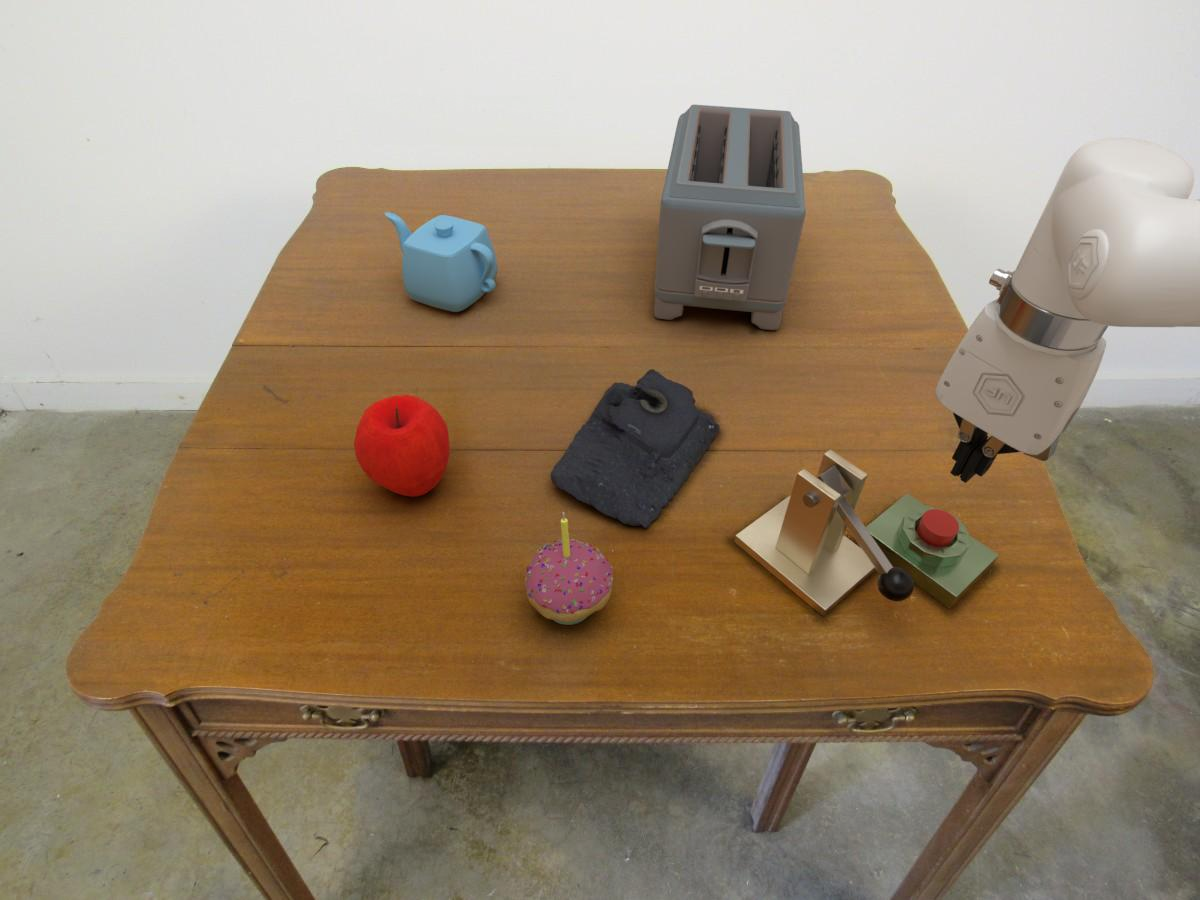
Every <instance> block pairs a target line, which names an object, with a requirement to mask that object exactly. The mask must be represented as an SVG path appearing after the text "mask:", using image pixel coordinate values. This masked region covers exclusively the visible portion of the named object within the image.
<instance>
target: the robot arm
mask: <svg viewBox="0 0 1200 900" xmlns="http://www.w3.org/2000/svg"><path fill="white" fill-rule="evenodd" d="M1194 173H1195V172H1194V170H1193V168H1192V166H1191V164H1190V163H1189V162H1188V161H1187V159H1185V158H1184V157H1183V156H1182V155H1180V154H1179V153H1178V152H1177V153H1176V152H1175V151H1173V150H1170V149H1169V148H1167V147H1165V146H1162V145H1160V144H1157V143H1153V142H1149V141H1146V140H1141V139H1135V138H1125V137H1106V138H1100V139H1095V140H1093V141H1090V142H1087V143H1085V144H1084V145H1082V146H1080V147H1079V148H1078V149H1077V150H1075V152H1073V154H1072V155H1071V156H1070V157H1069V158H1068V160H1067V161H1066V164H1065V165H1064V167H1063V169H1062V171H1061V173H1060V175H1059V177H1058V180H1057V181H1056V183H1055V185H1054V187H1053V190H1052V192H1051V194H1050V196H1049V198H1048V200H1047V202H1046V205H1045V207H1044V209H1043V211H1042V213H1041V215H1040V218H1039V219H1038V221H1037V223H1036V226H1035V228H1034V230H1033V232H1032V234H1031V236H1030V237H1029V238H1030V239H1029V240H1028V241H1027V245H1026V247H1025V249H1024V251H1023V253H1022V255H1021V257H1020V259H1019V261H1018V264H1017V266H1016V268H1015V269H1014V270H1013V271H1010V270H1008V271H1006V270H1004V269H1001V268H997V269H996V270H995V271H994V272H993V273H992V275H991V277H990V278H989V281H988V284H989V285H991V286H993V287H995V288H996V290H997V291H999V295H998V298H996V299H994V300H992V301H990V302H987V304H986V305H985V306H984V307H983V308H982V310H981V311H980V312H979V314H978V315H977V317H976V318H975V319H974V321H973V322H972V323H971V325H970V327H969V328H968V330H967V331H966V333H965V334H964V336H963V337H962V339H961V341H960V342H959V344H958V346H957V347H956V349H955V351H954V352H953V354H952V355H951V358H950V359H949V360H948V363H947V365H946V367H945V368H944V370H943V372H942V374H941V376H940V378H939V380H938V382H937V384H936V388H935V393H934V395H935V398H936V399H937V401H938V402H939V403H940V404H941V405H942V406H943V407H944V408H946V409H947V410H949V411H950V412H952V414H953V417H954V420H955V421H956V424H957V426H958V429H959V430H958V434H957V437H958V439H959V440H960V441H959V443H958V445H957V447H956V449H955V450H954V453H953V455H952V457H951V459H952V460H954V465H953V467H952V468H951V470H950V475H952V476H953V477H959V479H960V481H961V482H963V483H964V484H966V483H968V482H969V481H970V480H971V479H972V478H973V477H974V476H975V475H977V476H979V477H980V478H981V477H982V476H984V475H985V474H986V473H987V472H988V471H989V469H991V467H992V466H993V463H994V461H995V460H996V458H997V456H998V455H1005V454H1015V453H1019V452H1020V453H1023V455H1025V456H1028V457H1031V458H1033V459H1036V460H1038V461H1042V462H1046V461H1048V460H1049V459H1050V458H1051V457H1052V456H1053V455H1054V454H1055V453H1056V450H1057V447H1058V443H1059V438H1060V435H1062V434H1063V433H1064V432H1065V431H1066V430H1067V429H1068V428H1069V427H1070V425H1071V423H1072V422H1073V421H1074V419H1075V417H1076V415H1077V414H1078V412H1079V410H1080V408H1081V406H1082V405H1083V403H1084V401H1085V399H1086V397H1087V395H1088V393H1089V391H1090V389H1091V387H1092V385H1093V383H1094V380H1095V378H1096V376H1097V373H1098V372H1099V369H1100V366H1101V364H1102V361H1103V357H1104V354H1105V351H1106V348H1107V340H1106V339H1105V338H1104V336H1103V335H1104V334H1105V332H1106V331H1107V329H1108V328H1109V327H1120V328H1178V327H1181V328H1200V199H1189V198H1190V195H1191V193H1192V190H1193V188H1194V184H1195V174H1194ZM989 435H990V437H989Z"/></svg>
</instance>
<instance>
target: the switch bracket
mask: <svg viewBox="0 0 1200 900" xmlns="http://www.w3.org/2000/svg"><path fill="white" fill-rule="evenodd" d="M832 466H835V467H836V468H837V470H838V471H839V473H840V474H841V475H842V477H843V478H844V480H845V481H846V483H847V484H848V486H849V487H850V488H851V491H849V492H848V493H847V494H846V495H844V497H845V498H846V500H847V501H848V503H849V504H850V505H851V507H852V508H853V510H854V511H855V508H856V506H857V503H858V501H859V498H860V496H861V493H862V490H863V488H864V486H865V483H866V481H867V478H868V476H869V474H867V473H866V472H865V471H863V470H862V469H860V468H859V467H857V466H856V465H855V464H853V463H851V462H850V461H848V460H847V459H846V458H844V457H842V456H841V455H840V454H838V453H837V452H835V451H834V450H833V449H831V448H830V449H829V450H826V452H825V453H823V456H822V459H821V463H820V465H819V468H818V472H817V474H819V473H820V472H822V471H824V470H826V469H828V468H830V467H832ZM815 476H816V475H814V474H812V472H810V471H808V469H805V468H802V469H801V470H800V471H798V472H797V474H796V477H795V479H794V484H793V487H792V490H791V493H790V495H788V496H786V497H785V498H784V499H783V500H781V501H780V502H778V503H777V504H776V505H774V506H773V507H771V508H770V509H769V510H768V511H767V512H765V513H764V514H762V515H761V516H760V517H758V518H757V519H755V520H754V521H753V522H751V523H750V524H748V526H746V527H745V528H744V529H741V531H739V532H738V533H737V534H735V536H734V540H733V542H734V544H736V545H737V546H738V547H739V548H741V550H743V551H744V552H745V553H746V554H747V555H749V556H750V557H752V559H754V560H755V561H756V562H757V563H758V564H760V565H761V566H762V567H763V568H764V569H766V570H767V571H768V572H769V573H770V574H771V575H772V576H774V577H775V578H776V579H777V580H779V581H780V582H781V583H782V584H783V585H785V586H786V587H787V588H788V589H789V590H791V592H793V593H794V594H795V595H796V596H798V597H799V598H800V600H802V601H803V602H805V603H806V604H807V605H808V606H809V607H811V608H812V609H813V610H814V611H815V612H817V613H818V615H820V616H822V617H825V616H826V615H827V614H828V613H829V612H830V611H831V610H832V609H834V608H835V607H836V606H837V605H838V604H839V603H840V602H842V601H843V600H844V599H845V598H846V597H847V596H848V595H849V594H851V593H852V592H853V591H854V590H855V589H856V588H857V587H858V586H860V585H861V584H862V583H863V582H864V581H865V580H867V578H869V577H870V576H871V575H872V574H873V573H874V572H875V571H877V570H876V568H875V567H874V565H873V564H872V563H871V561H870V560H869V558H868V557H867V555H866V554H865V552H864V551H863V549H862V548H861V547H860V545H858V544H856V543H855V542H853V541H852V540H851V539H850V538H848V537H847V536H845V533H846V532H847V530H848V528H847V526H846V525H845V523H844V522H843V520H842V519H841V518H840V516H839V515H838V513H837V512H836V508H837V506H838V503H839V500H840V498H841V495H840V494H839V493H838V492H836V491H835V490H833V489H832V488H831V487H829V486H828V485H826V484H825V483H824V482H822V481H821V480H819V479H818V478H817V477H815Z"/></svg>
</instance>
